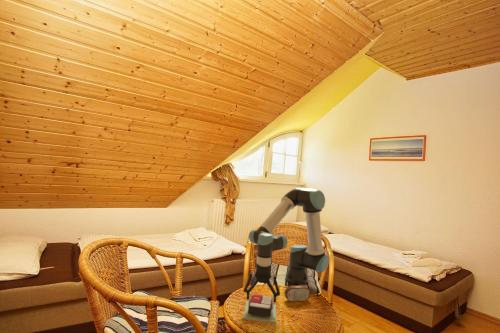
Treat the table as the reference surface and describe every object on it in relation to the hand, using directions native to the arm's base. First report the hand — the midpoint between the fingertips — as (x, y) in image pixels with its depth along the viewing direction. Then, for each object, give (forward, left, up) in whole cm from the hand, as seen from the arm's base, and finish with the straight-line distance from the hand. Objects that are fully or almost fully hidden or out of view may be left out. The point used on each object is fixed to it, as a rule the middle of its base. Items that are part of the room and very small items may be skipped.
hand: (260, 307), depth 146 cm
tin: (-20, -18, -3) cm, 27 cm away
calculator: (0, 0, -1) cm, 1 cm away
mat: (0, 0, -2) cm, 2 cm away
